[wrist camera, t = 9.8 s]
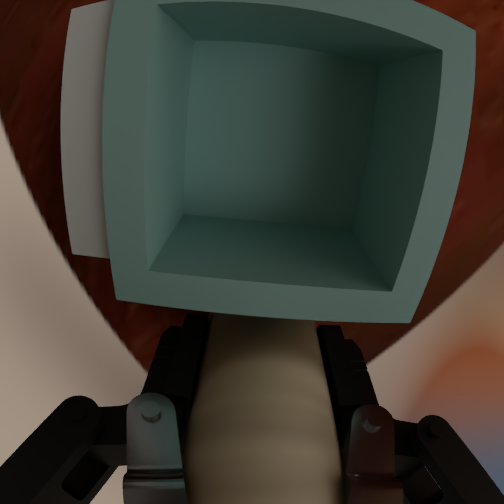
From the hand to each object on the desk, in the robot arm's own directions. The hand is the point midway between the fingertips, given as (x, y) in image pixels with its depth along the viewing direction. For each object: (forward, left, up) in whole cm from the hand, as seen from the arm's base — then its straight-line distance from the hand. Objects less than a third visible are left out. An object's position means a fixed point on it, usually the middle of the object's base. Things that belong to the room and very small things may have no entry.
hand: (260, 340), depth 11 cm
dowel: (0, 0, -2) cm, 2 cm away
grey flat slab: (-7, -4, -2) cm, 9 cm away
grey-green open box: (-7, 0, -2) cm, 7 cm away
